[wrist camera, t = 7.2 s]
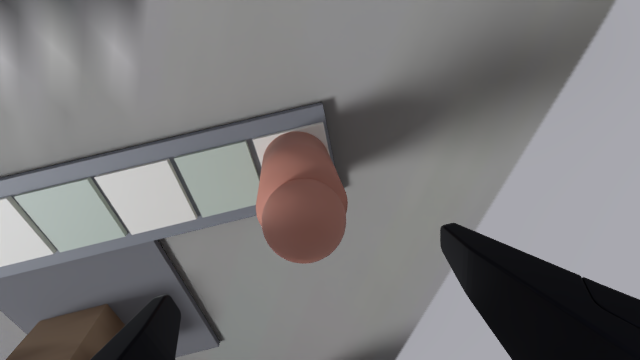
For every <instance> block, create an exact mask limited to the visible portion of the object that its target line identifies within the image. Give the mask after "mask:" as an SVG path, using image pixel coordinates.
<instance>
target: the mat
mask: <svg viewBox="0 0 640 360" xmlns="http://www.w3.org/2000/svg"><path fill="white" fill-rule="evenodd" d="M165 294H168V295H170V296H171V297H172V299H173V300H174V302H175V303H176V305H177V306H178V308H179V309H180V312H181V323H180V330H179V337H178V343H177V350H176V357H179V356H183V355H187V354H191V353H195V352H199V351H203V350H207V349H211V348H215V347H219V343H220V342H219V340H218V338H217V337H216V335H215V333H214V332H213V330H212V329H211V327H210V325H209V324H208V322H207V320H206V319H205V317H204V315H203V314H202V312H201V310H200V309H199V307H198V306H197V304H196V302H195V301H194V299H193V297H192V296H191V294H190V292H189V291H188V289H187V288H186V286H185V284H184V283H183V281H182V279H181V278H180V276H179V274H178V273H177V271H176V270H175V268H174V266H173V265H172V263H171V261H170V260H169V258H168V256H167V255H166V253H165V252H164V250H163V248H162V247H161V245H160V243H159V242H158V240H154V241H150V242H146V243H142V244H138V245H133V246H129V247H125V248H121V249H117V250H113V251H109V252H105V253H101V254H97V255H92V256H88V257H84V258H80V259H76V260H72V261H68V262H64V263H60V264H56V265H52V266H47V267H43V268H39V269H35V270H31V271H27V272H23V273H19V274H15V275H11V276H7V277H2V278H0V311H2V312H3V313H4V314H5V315H6V316H7V317H8V318H9V319H10V320H12V321H13V322H14V323H15V324H16V325H17V326H18V327H19V328H21V329H22V330H23V331H24V332H25V333H26V334H27V335H28V334H29V332H30V331H31V330H32V329H33V328H34V327H35V325H36V324H37V323H38V322H39V321H42V320H46V319H50V318H54V317H57V316H61V315H65V314H69V313H73V312H77V311H81V310H85V309H89V308H93V307H97V306H101V305H105V304H108V305H109V307H110V308H111V309H112V310H113V311H114V312H115V314H116V315H117V316H118V317H119V318H120V320H121V321H122V322H123V323H124V324H125V325H126V324H127V323H128V322H129V321H130V320H132V319H133V318H134V317H135V316H136V315H137V314H138V313H139V312H140V311H141V310H142V309H143V308H144V307H145V306H146V305H147V304H148V303H149V302H150V301H151V300H152V299H153V298H155V297H157V296H161V295H165Z"/></svg>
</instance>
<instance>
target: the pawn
mask: <svg viewBox="0 0 640 360" xmlns="http://www.w3.org/2000/svg"><path fill="white" fill-rule="evenodd" d="M347 204H348V202H347V195H346V192H345V190H344V187H343V185H342V183H341V181H340V178H339V176H338V174H337V171H336V169H335V167H334V165H333V162H332V160H331V158H330V155H329V153H328V151H327V149H326V147H325V145H324V144H323V143H322V142H321V141H320V140H319V139H318V138H317V137H315V136H313V135H311V134H309V133H306V132H299V131H294V132H288V133H284V134H282V135H280V136H278V137H277V138H275V139H274V140H273V141H272V142H271V143H270V144H269V145H268V147H267V148H266V150H265V153H264V156H263V161H262V168H261V174H260V181H259V188H258V194H257V201H256V214H257V218H258V220H259V223H260V224H261V226H262V229H263V233H264V237H265V239H266V241H267V243H268V244H269V246H270V247H271V248H272V249H273V251H274V252H275V253H276V254H278V255H279V256H281V257H282V258H284V259H286V260H288V261H291V262H295V263H312V262H316V261H319V260H321V259H323V258H325V257H327V256H328V255H330V254H331V253H332V252H333V251H334V250H335V249H336V248H337V246H338V245H339V243H340V242H341V240H342V238H343V235H344V232H345V227H346V212H347Z"/></svg>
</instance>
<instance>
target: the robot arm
mask: <svg viewBox="0 0 640 360" xmlns="http://www.w3.org/2000/svg"><path fill="white" fill-rule="evenodd" d="M440 241H441V249H442V252H443V254H444V255H445V257H446V259H447V261H448V263H449V264H450V266H451V268H452V270H453V272H454V273H455V275H456V277H457V279H458V281H459V282H460V284H461V286H462V288H463V289H464V291H465V293H466V294H467V296H468V297H469V299H470V300H471V302H472V303H473V305H474V306H475V307H476V309H477V310H478V312H479V313H480V314H481V316H482V317H483V319H484V320H485V322H486V323H487V325H488V326H489V327H490V329H491V330H492V332H493V333H494V334H495V336H496V337H497V339H498V340H499V342H500V343H501V344H502V346H503V347H504V349H505V350H506V352H507V353H508V354H509V356H510V357H511V359H512V360H640V300H639V299H636V298H634V297H631V296H629V295H626V294H624V293H621V292H619V291H616V290H613V289H611V288H609V287H606V286H604V285H601V284H599V283H597V282H594V281H592V280H589V279H587V278H584V277H583V278H581V276H580V275H577V274H575V273H573V272H570V271H568V270H565V269H563V268H561V267H558V266H556V265H554V264H551V263H549V262H546V261H544V260H541V259H539V258H537V257H534V256H532V255H530V254H527V253H525V252H522V251H520V250H518V249H515V248H513V247H511V246H508V245H506V244H504V243H501V242H499V241H496V240H494V239H492V238H489V237H487V236H484V235H482V234H480V233H477V232H475V231H473V230H470V229H468V228H465V227H463V226H461V225H458V224H456V223H450V224H446V225H443V226H441V230H440ZM180 323H181V312H180V309H179V308H178V306H177V305H176V303H175V302H174V300H173V299H172V297H171V296H170V295H168V294H165V295H161V296H157V297H155V298H153V299H152V300H151V301H150V302H149V303H148V304H147V305H146V306H145V307H144V308H143V309H142V310H141V311H140V312H139V313H138V314H137V315H136V316H135V317H134V318H133V319H132V320H130V321H129V322H128V323H127V324H126V325H125V326H124V327H123V328H122V329H121V330H120V331H119V332H118V333H117V334H116V335H115V336H114V337H113V338H112V339H111V340H110V341H109V342H108V343H107V344H106V345H105V346H104V347H103V348H102V349H101V350H100V351H98V352H97V353H96V354H95V355H94V356H93V357H92V358H91V359H90V360H175V357H176V350H177V343H178V337H179V330H180Z"/></svg>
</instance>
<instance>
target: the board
mask: <svg viewBox="0 0 640 360" xmlns="http://www.w3.org/2000/svg"><path fill="white" fill-rule="evenodd" d="M294 131H299V132H306V133H309V134H311V135H313V136H315V137H317V138H318V139H319V140H320V141H321V142H322V143H323V144H324V145H325V147H326V149H327V151H328V153H329V155H330V158H331V160H332V162H333V165H334V167H335V164H334V159H333V154H332V149H331V144H330V139H329V134H328V129H327V124H326V118H325V113H324V108H323V104H322V103H321V102H320V103H316V104H311V105H307V106H303V107H299V108H295V109H290V110H286V111H282V112H278V113H273V114H269V115H265V116H261V117H256V118H252V119H248V120H244V121H240V122H235V123H231V124H227V125H223V126H218V127H214V128H210V129H206V130H201V131H197V132H193V133H189V134H185V135H180V136H176V137H172V138H168V139H163V140H159V141H155V142H151V143H147V144H142V145H138V146H134V147H130V148H125V149H121V150H117V151H113V152H108V153H104V154H100V155H96V156H92V157H87V158H83V159H79V160H75V161H70V162H66V163H62V164H58V165H53V166H49V167H45V168H41V169H37V170H32V171H28V172H24V173H20V174H15V175H11V176H7V177H3V178H0V278H2V277H7V276H11V275H15V274H19V273H23V272H27V271H31V270H35V269H39V268H43V267H47V266H52V265H56V264H60V263H64V262H68V261H72V260H76V259H80V258H84V257H88V256H92V255H97V254H101V253H105V252H109V251H113V250H117V249H121V248H125V247H129V246H133V245H138V244H142V243H146V242H150V241H154V240H158V239H162V238H166V237H170V236H174V235H178V234H183V233H187V232H191V231H195V230H199V229H203V228H207V227H211V226H215V225H219V224H223V223H228V222H232V221H236V220H240V219H244V218H248V217H252V216H256V215H257V214H256V201H257V194H258V188H259V181H260V174H261V168H262V161H263V156H264V153H265V150H266V148H267V147H268V145H269V144H270V143H271V142H272V141H273V140H274V139H275V138H277V137H278V136H280V135H282V134H284V133H288V132H294Z"/></svg>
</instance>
